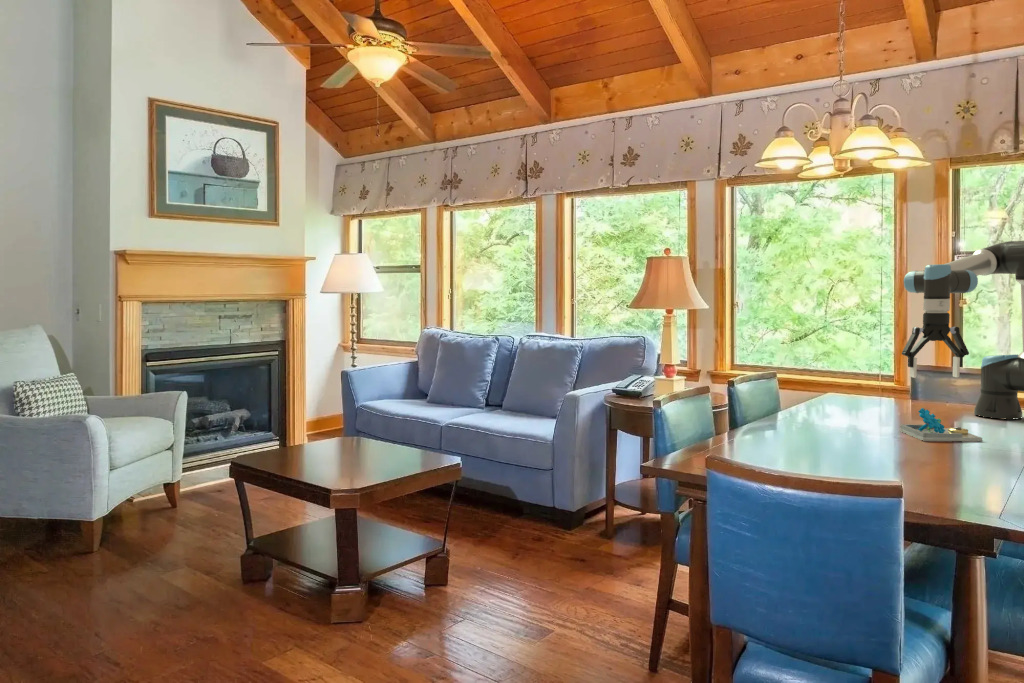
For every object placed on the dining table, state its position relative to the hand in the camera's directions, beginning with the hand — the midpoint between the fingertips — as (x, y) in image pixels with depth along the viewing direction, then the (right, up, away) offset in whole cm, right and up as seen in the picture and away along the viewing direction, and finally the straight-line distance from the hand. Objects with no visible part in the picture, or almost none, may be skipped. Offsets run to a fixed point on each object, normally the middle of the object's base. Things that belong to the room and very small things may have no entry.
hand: (934, 377), depth 248 cm
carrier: (+1, -19, -2) cm, 19 cm away
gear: (-1, -18, -1) cm, 18 cm away
